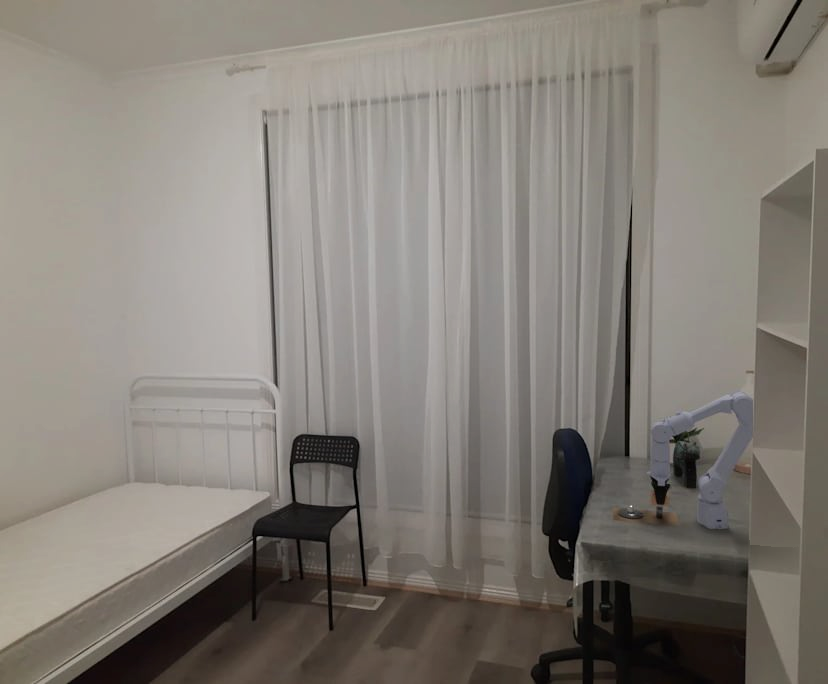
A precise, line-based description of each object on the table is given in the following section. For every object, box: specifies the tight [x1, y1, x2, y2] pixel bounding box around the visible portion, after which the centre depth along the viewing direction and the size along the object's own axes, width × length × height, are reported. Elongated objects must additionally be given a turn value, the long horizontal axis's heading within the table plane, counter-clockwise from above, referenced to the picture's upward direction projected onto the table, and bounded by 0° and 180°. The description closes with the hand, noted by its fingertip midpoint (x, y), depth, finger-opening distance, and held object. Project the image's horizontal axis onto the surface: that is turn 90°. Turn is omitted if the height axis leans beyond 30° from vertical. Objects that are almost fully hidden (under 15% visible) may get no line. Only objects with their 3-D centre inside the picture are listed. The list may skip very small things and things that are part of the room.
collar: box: [649, 490, 670, 507], centre depth 204 cm, size 5×5×3 cm
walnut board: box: [612, 507, 680, 527], centre depth 206 cm, size 20×12×2 cm, turn 72°
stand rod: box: [655, 505, 664, 519], centre depth 204 cm, size 2×2×4 cm
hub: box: [619, 505, 643, 519], centre depth 207 cm, size 8×8×3 cm
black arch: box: [672, 432, 701, 489], centre depth 246 cm, size 20×6×20 cm, turn 173°
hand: (659, 501), depth 204 cm, fingers closed on collar, 5 cm apart
